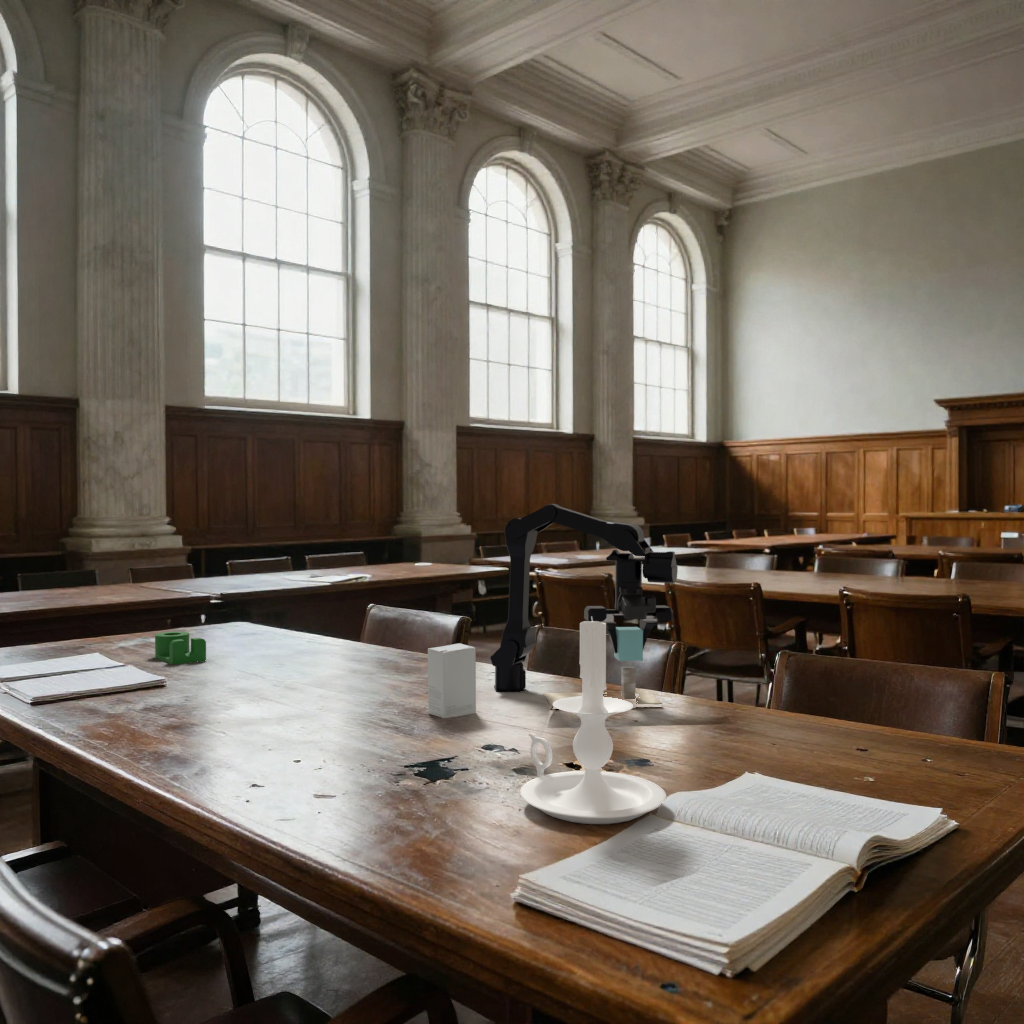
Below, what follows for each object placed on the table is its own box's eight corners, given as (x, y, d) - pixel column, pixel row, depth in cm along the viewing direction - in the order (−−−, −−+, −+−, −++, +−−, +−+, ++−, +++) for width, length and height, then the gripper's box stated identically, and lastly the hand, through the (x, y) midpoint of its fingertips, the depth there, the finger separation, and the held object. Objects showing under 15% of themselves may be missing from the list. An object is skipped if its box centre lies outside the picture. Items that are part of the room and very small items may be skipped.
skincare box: (459, 714, 191) (460, 642, 191) (477, 719, 186) (477, 646, 186) (426, 720, 186) (426, 646, 186) (443, 726, 181) (443, 650, 181)
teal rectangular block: (619, 661, 200) (619, 630, 200) (614, 656, 205) (614, 627, 205) (642, 660, 200) (642, 630, 200) (637, 656, 206) (637, 626, 205)
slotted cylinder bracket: (150, 656, 260) (150, 633, 260) (182, 653, 266) (182, 630, 266) (172, 665, 246) (172, 641, 246) (206, 661, 252) (205, 638, 252)
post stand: (550, 710, 195) (550, 674, 195) (543, 697, 207) (543, 664, 207) (662, 707, 198) (662, 672, 197) (648, 695, 209) (648, 662, 209)
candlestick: (580, 776, 149) (581, 602, 149) (697, 819, 129) (698, 619, 129) (474, 801, 137) (475, 611, 136) (585, 853, 117) (586, 631, 116)
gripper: (593, 585, 194) (592, 659, 194) (680, 584, 195) (680, 658, 196) (583, 580, 205) (583, 651, 205) (666, 580, 206) (666, 650, 207)
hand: (628, 652), depth 203 cm, fingers closed on teal rectangular block, 5 cm apart
